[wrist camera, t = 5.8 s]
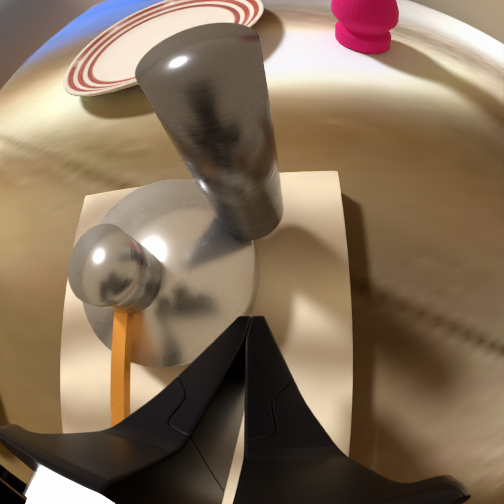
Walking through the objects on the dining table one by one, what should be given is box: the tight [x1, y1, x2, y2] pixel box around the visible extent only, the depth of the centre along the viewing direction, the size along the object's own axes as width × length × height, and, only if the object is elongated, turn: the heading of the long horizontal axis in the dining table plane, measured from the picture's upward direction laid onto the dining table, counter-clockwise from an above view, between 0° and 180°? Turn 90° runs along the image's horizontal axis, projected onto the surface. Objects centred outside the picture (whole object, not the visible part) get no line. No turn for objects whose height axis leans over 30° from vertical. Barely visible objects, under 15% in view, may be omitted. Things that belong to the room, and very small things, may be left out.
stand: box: [60, 171, 353, 504], centre depth 16 cm, size 20×18×2 cm
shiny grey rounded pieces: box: [68, 22, 284, 427], centre depth 10 cm, size 13×13×11 cm
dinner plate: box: [63, 0, 264, 97], centre depth 28 cm, size 27×27×3 cm
